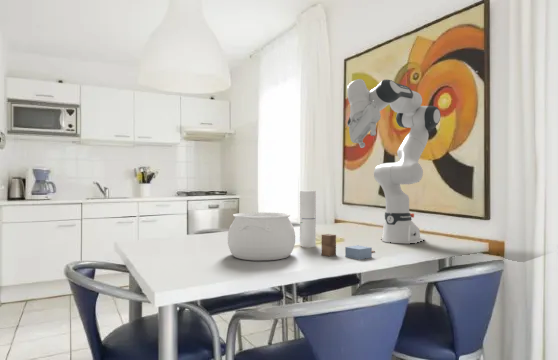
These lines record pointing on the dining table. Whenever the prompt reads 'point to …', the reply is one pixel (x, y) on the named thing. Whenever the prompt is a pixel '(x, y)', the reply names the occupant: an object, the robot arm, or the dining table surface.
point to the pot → (261, 236)
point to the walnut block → (328, 244)
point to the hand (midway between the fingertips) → (368, 141)
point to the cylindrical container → (308, 218)
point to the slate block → (358, 252)
